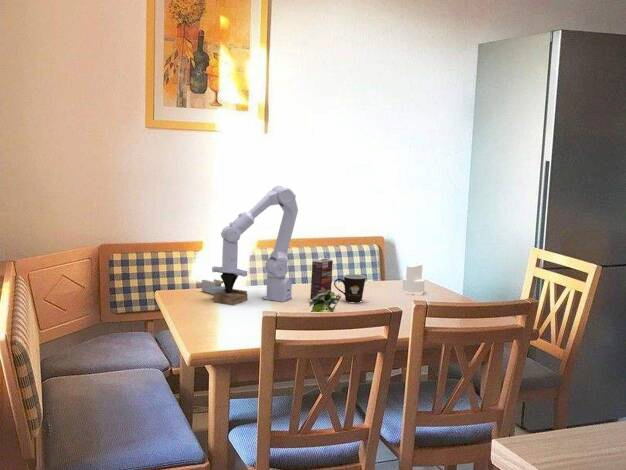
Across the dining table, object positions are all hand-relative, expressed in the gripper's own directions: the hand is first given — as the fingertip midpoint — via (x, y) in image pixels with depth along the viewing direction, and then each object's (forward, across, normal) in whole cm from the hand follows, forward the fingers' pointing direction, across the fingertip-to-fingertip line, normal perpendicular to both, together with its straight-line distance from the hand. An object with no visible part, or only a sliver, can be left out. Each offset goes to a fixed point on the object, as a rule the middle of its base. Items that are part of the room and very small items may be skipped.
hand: (228, 292), depth 263 cm
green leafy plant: (+3, +40, +2) cm, 40 cm away
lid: (+1, -4, 0) cm, 4 cm away
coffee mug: (+3, +39, +28) cm, 48 cm away
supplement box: (+3, +29, +22) cm, 36 cm away
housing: (+3, +1, 0) cm, 3 cm away
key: (+3, -11, +6) cm, 13 cm away
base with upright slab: (+3, +56, +57) cm, 80 cm away
